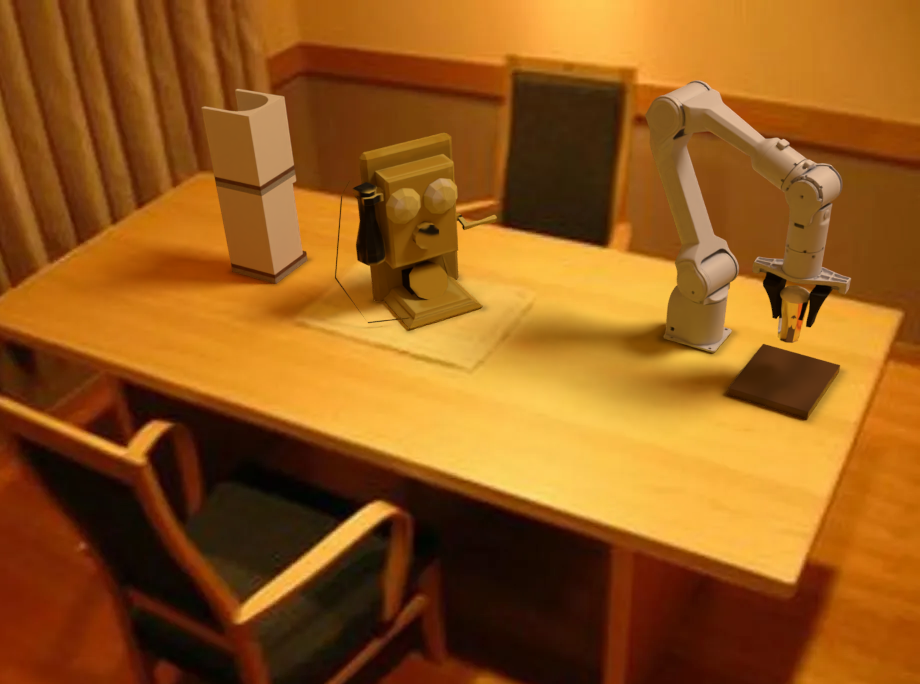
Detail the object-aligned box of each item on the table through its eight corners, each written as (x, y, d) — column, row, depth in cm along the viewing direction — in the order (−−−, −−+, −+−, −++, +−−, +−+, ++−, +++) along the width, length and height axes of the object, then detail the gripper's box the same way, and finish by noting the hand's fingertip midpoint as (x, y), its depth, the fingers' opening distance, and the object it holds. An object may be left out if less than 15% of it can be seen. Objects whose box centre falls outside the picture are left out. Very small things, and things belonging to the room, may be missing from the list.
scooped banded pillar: (307, 260, 223) (284, 96, 203) (276, 283, 216) (248, 116, 195) (264, 249, 228) (237, 88, 208) (232, 271, 221) (201, 107, 201)
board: (727, 395, 174) (727, 387, 174) (762, 350, 184) (763, 343, 183) (807, 419, 168) (808, 412, 167) (839, 372, 177) (840, 364, 176)
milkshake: (809, 346, 172) (819, 292, 166) (774, 344, 173) (783, 290, 167) (806, 330, 175) (816, 277, 170) (772, 329, 176) (780, 276, 171)
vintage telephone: (362, 345, 195) (345, 193, 177) (334, 310, 205) (315, 164, 188) (515, 299, 204) (512, 150, 187) (480, 268, 215) (475, 124, 197)
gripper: (862, 243, 163) (847, 319, 171) (768, 223, 171) (758, 297, 178) (847, 263, 159) (833, 341, 166) (751, 242, 166) (742, 317, 174)
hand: (793, 320), depth 172 cm, fingers closed on milkshake, 5 cm apart
